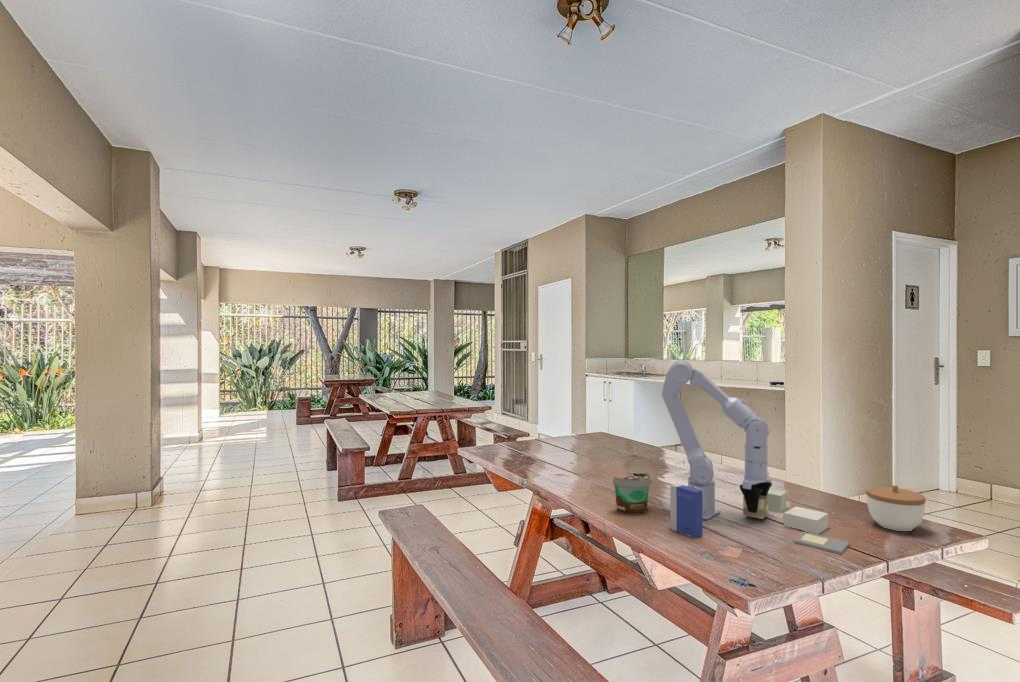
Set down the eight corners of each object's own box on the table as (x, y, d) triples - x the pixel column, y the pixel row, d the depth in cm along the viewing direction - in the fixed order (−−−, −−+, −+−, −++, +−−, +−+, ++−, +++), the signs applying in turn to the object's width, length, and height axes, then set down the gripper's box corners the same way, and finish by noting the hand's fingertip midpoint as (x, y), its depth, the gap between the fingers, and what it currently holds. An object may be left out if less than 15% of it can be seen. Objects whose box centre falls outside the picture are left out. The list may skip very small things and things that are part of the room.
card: (841, 554, 121) (841, 551, 121) (793, 542, 128) (793, 539, 128) (849, 544, 127) (849, 541, 127) (803, 533, 134) (803, 531, 134)
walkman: (702, 536, 132) (702, 488, 132) (695, 538, 131) (695, 490, 131) (676, 527, 139) (676, 482, 139) (669, 529, 137) (669, 483, 137)
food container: (625, 517, 146) (625, 482, 146) (612, 511, 152) (612, 476, 152) (660, 511, 151) (660, 477, 151) (647, 505, 157) (646, 472, 157)
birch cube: (762, 519, 142) (762, 500, 142) (743, 514, 146) (743, 496, 146) (768, 514, 146) (768, 496, 146) (749, 510, 149) (749, 493, 149)
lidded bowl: (928, 527, 138) (928, 485, 138) (921, 540, 129) (921, 495, 129) (871, 516, 147) (871, 476, 147) (861, 527, 138) (861, 485, 138)
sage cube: (780, 513, 150) (780, 495, 150) (762, 509, 153) (762, 492, 153) (786, 509, 154) (786, 492, 154) (768, 505, 157) (768, 488, 157)
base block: (817, 536, 133) (817, 520, 133) (784, 527, 139) (784, 512, 139) (828, 528, 138) (828, 513, 138) (796, 520, 144) (795, 506, 144)
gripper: (762, 468, 138) (761, 519, 138) (780, 458, 148) (779, 506, 148) (734, 463, 142) (734, 513, 143) (754, 455, 153) (753, 501, 153)
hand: (755, 509), depth 146 cm, fingers closed on birch cube, 5 cm apart
